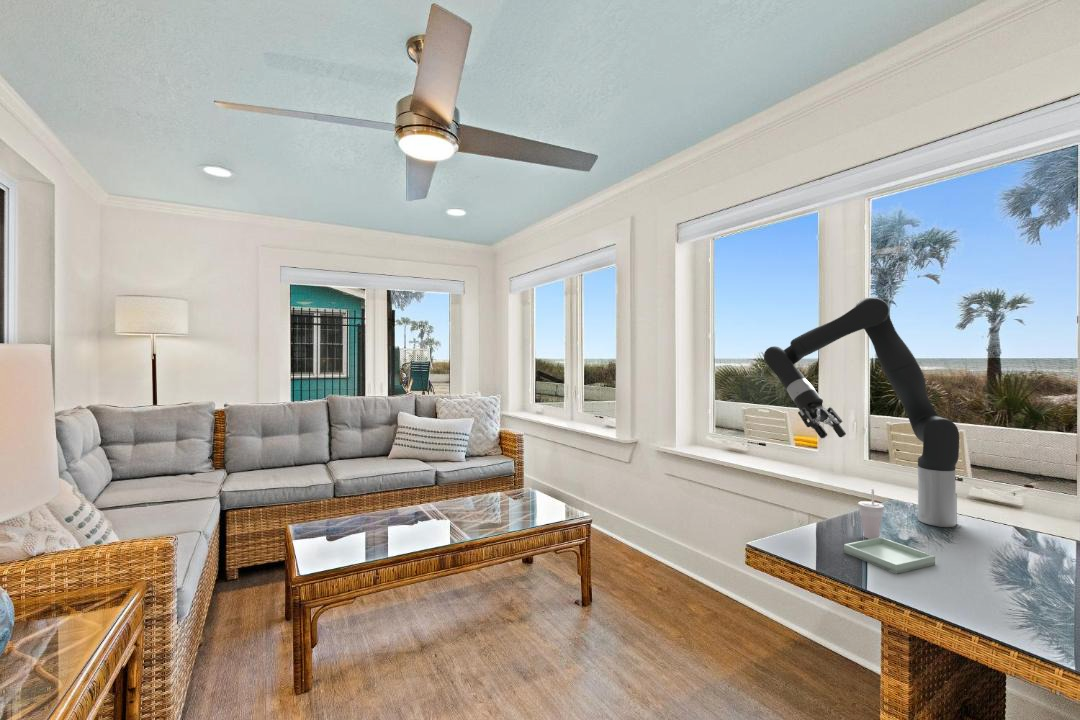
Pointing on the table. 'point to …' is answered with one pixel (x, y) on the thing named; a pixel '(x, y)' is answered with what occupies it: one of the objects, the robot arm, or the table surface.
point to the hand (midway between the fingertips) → (834, 436)
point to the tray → (889, 555)
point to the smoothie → (871, 517)
